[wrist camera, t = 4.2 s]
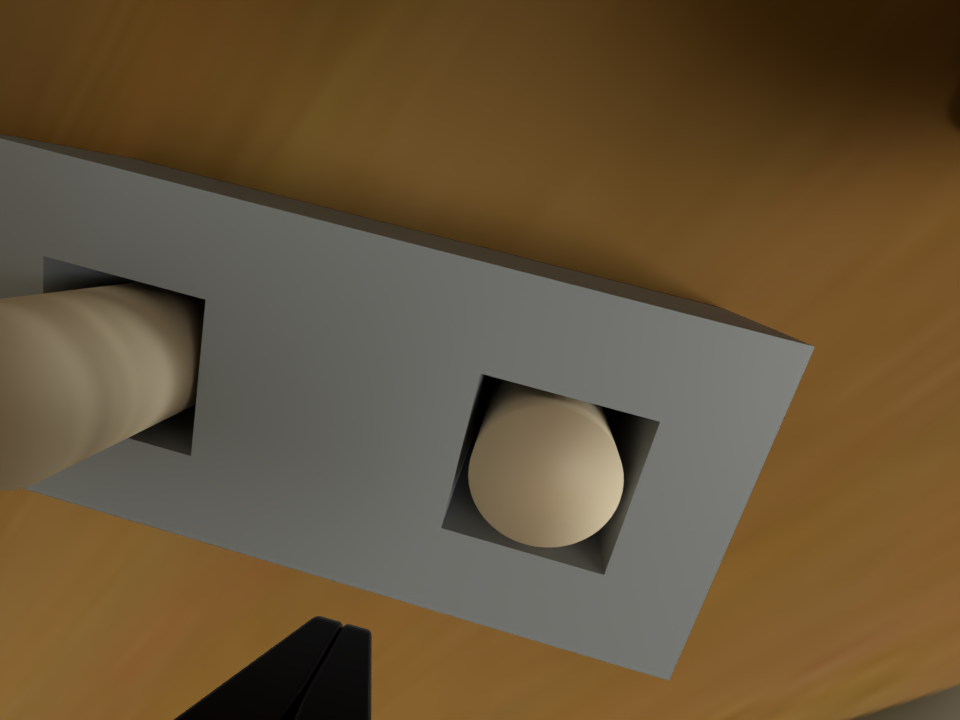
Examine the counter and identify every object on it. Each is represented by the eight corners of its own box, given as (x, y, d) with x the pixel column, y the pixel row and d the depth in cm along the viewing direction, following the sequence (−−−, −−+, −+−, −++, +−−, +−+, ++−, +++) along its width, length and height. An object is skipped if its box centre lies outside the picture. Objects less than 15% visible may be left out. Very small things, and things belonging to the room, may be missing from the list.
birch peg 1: (245, 296, 15) (69, 334, 10) (232, 414, 17) (65, 511, 11) (125, 264, 16) (-118, 282, 10) (119, 382, 17) (-103, 461, 11)
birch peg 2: (612, 368, 18) (645, 430, 12) (580, 465, 19) (596, 564, 13) (505, 339, 18) (488, 388, 13) (480, 437, 19) (453, 523, 14)
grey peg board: (724, 308, 17) (814, 346, 12) (632, 551, 20) (669, 680, 14) (132, 158, 19) (-54, 124, 13) (119, 405, 21) (-39, 469, 15)
